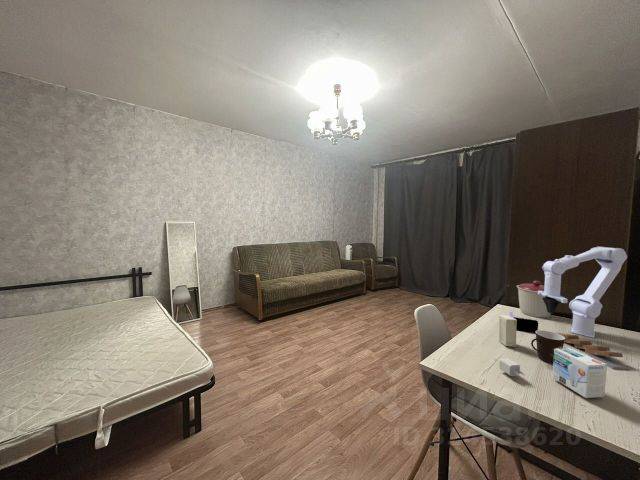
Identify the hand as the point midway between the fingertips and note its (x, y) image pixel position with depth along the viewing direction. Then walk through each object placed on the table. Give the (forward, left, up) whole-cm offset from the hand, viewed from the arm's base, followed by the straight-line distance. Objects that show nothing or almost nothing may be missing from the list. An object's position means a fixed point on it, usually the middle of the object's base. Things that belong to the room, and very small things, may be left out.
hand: (550, 312), depth 121 cm
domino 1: (+3, +2, -10) cm, 10 cm away
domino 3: (+10, +11, -10) cm, 17 cm away
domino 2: (+6, +6, -10) cm, 13 cm away
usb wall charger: (+56, -4, -11) cm, 57 cm away
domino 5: (+15, +16, -10) cm, 24 cm away
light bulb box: (+48, +12, -11) cm, 51 cm away
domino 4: (+14, +14, -9) cm, 22 cm away
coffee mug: (+33, +2, -11) cm, 35 cm away
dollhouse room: (+3, -10, -11) cm, 15 cm away
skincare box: (+29, -11, -11) cm, 33 cm away
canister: (-26, -9, -11) cm, 29 cm away
